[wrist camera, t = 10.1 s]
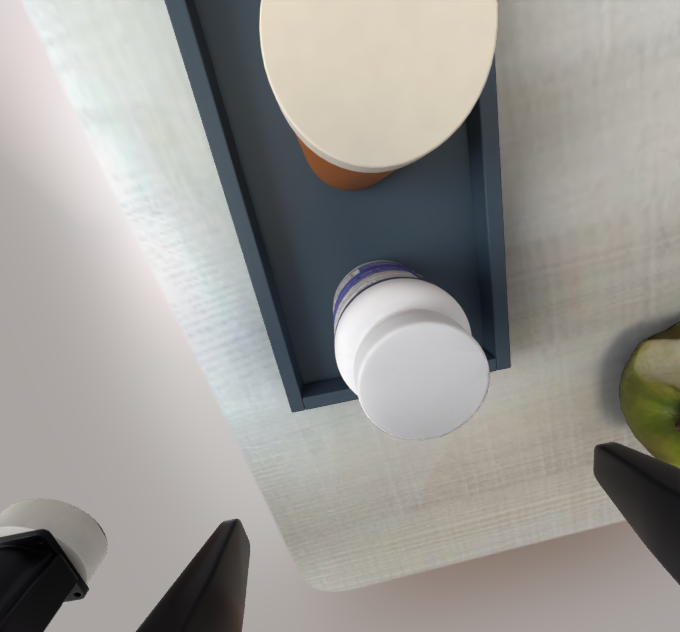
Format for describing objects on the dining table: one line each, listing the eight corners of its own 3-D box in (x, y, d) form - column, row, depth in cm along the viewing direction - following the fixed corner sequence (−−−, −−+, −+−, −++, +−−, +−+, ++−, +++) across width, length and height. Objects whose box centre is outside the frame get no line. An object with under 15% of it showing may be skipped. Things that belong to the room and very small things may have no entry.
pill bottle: (436, 329, 18) (529, 428, 10) (352, 361, 19) (371, 481, 10) (408, 242, 17) (490, 271, 8) (317, 279, 17) (306, 342, 9)
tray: (295, 393, 20) (291, 413, 18) (115, -211, 12) (72, -297, 10) (492, 352, 20) (511, 368, 18) (446, -304, 11) (472, -415, 9)
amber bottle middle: (313, 203, 16) (293, 189, 7) (287, 90, 14) (225, -93, 6) (409, 180, 16) (505, 140, 7) (394, 63, 14) (491, -164, 6)
